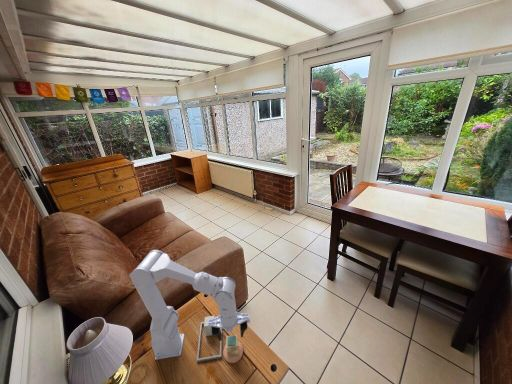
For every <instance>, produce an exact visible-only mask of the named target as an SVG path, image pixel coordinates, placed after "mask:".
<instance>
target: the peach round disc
mask: <svg viewBox="0 0 512 384" xmlns="http://www.w3.org/2000/svg"><path fill="white" fill-rule="evenodd" d="M222 353H223V358H224V360H225V361H226V362H227V363H228V364H235V363H238V362H239V361H240V360H241V359H242V357H243V354H244V348H243V343H241V341H240V340H238V354H239V356H233V357H228V355H227V349H226V344H225V345H224V347H223V350H222Z"/></svg>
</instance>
